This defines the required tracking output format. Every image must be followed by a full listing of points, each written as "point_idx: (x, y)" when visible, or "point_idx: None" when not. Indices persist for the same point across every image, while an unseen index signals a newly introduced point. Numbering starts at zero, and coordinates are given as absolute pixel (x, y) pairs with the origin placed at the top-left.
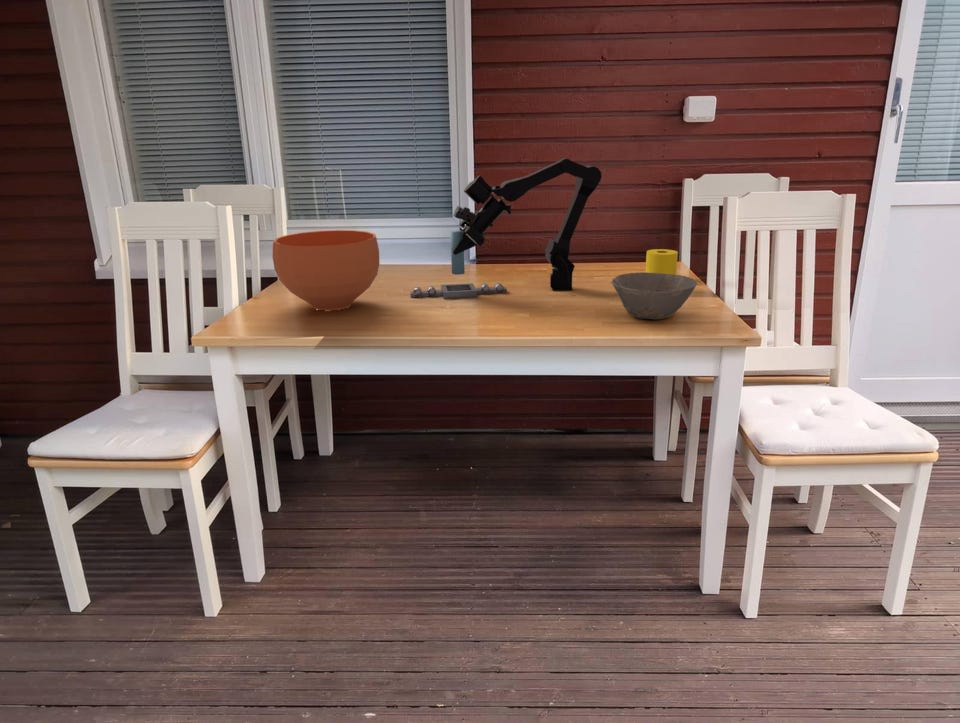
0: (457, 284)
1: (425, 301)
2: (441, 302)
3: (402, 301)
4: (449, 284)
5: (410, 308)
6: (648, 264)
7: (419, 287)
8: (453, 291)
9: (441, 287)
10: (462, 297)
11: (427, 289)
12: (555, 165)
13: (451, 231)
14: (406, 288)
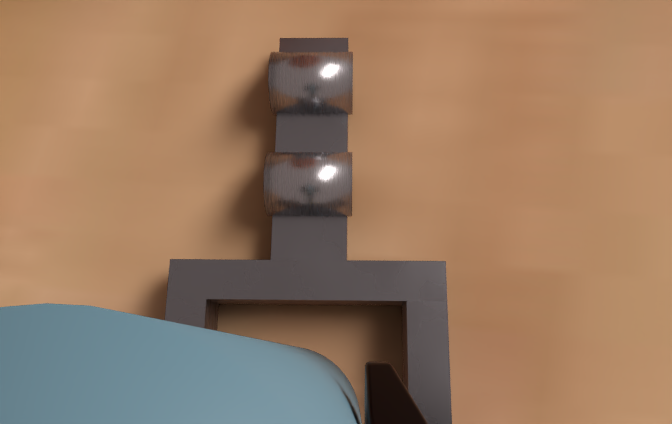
0: (433, 411)
1: (152, 140)
2: (91, 244)
3: (196, 3)
4: (446, 337)
5: (8, 45)
6: None
7: (347, 87)
8: None
9: (365, 261)
10: None
11: (345, 152)
12: None
13: (113, 373)
14: (559, 33)
